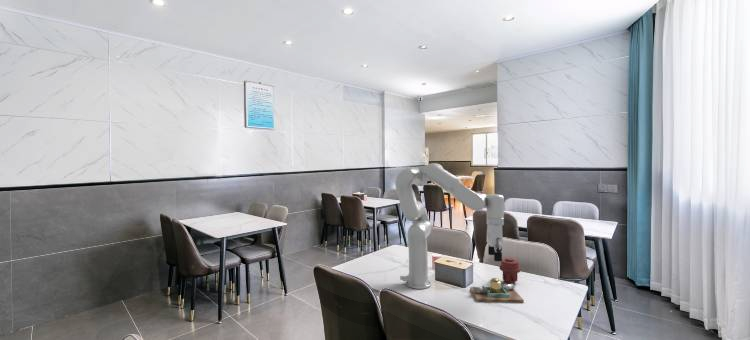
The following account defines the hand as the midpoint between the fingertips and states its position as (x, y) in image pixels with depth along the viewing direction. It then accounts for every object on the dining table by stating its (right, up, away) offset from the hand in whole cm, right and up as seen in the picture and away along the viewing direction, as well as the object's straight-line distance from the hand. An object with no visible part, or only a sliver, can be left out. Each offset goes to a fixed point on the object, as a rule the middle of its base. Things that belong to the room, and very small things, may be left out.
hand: (494, 257), depth 149 cm
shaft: (+8, -18, +4) cm, 20 cm away
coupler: (0, -16, 0) cm, 16 cm away
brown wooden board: (0, -18, 0) cm, 18 cm away
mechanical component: (+14, -17, +16) cm, 27 cm away
